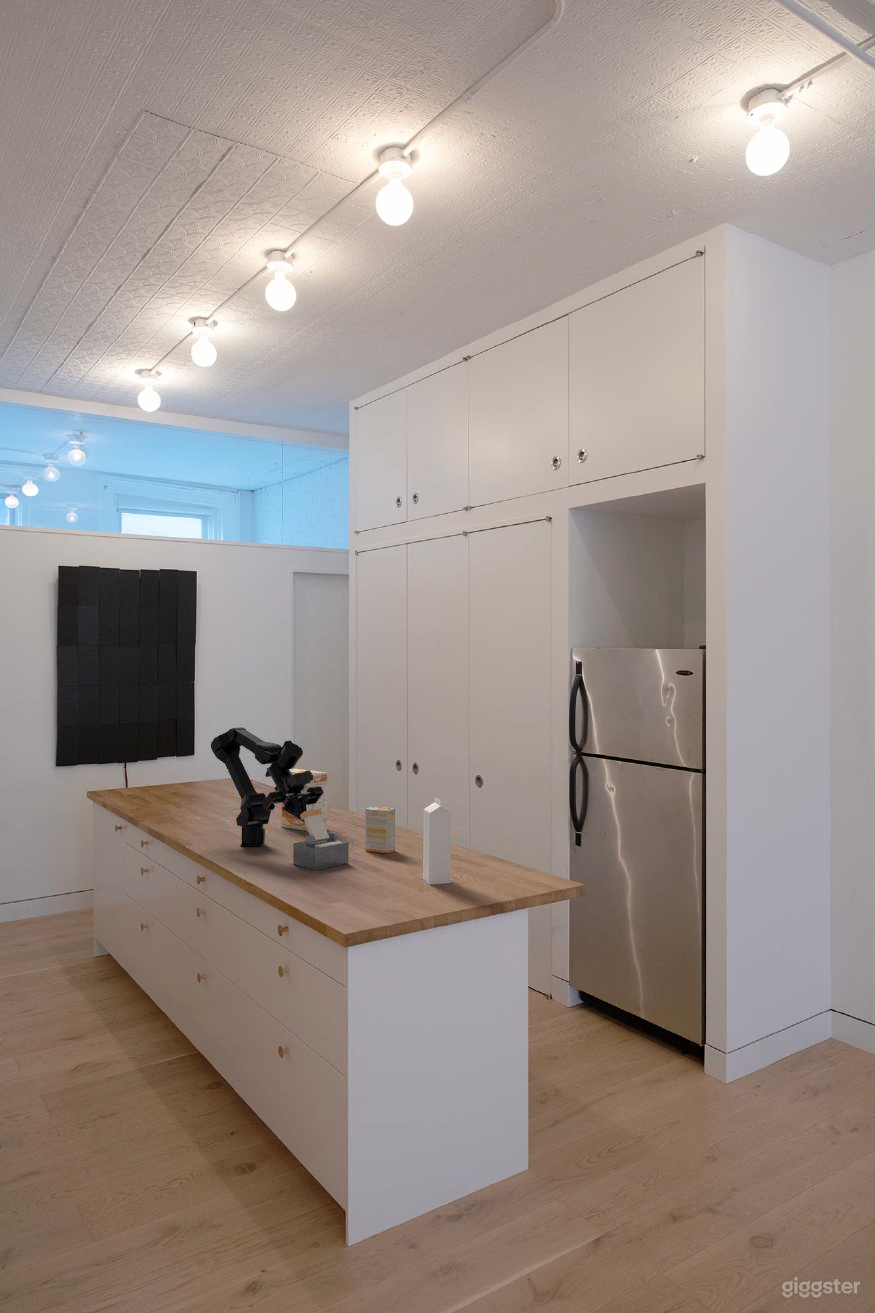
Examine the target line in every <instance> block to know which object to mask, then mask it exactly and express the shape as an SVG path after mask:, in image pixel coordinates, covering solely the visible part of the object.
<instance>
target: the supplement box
mask: <svg viewBox="0 0 875 1313" xmlns="http://www.w3.org/2000/svg"><path fill="white" fill-rule="evenodd" d="M364 810H365V811H364V813H365V817H364V818H365V819H364V820H365V828H364V830H365V833H364V834H365V835H364V837H365V839H364V841H365V846H364V848H365V849H364V851H365V852H371V853H379V854H381V853H382V854H391V853H393V852H395V851H396V808H393V807H385V806H383V807H382V806H370V807H367V808H365V809H364Z"/></svg>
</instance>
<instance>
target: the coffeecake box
mask: <svg viewBox="0 0 875 1313" xmlns="http://www.w3.org/2000/svg"><path fill="white" fill-rule="evenodd" d="M289 770H290V772H291V774H292V775H294V774H296V773H303V772H305V771H307V770H308V769H301V768H292V769H289ZM310 771H311V773H312V775H313V780H312V781H310V783H307V784H306V785H304V787H305V788H304V789H303V790H301V793H303V792H306V791H307V790H308V788H309V787H315V786H320V787H321V788H322V790H323V791H324V793H323V794H322V796H321V797H320V799H319V800H318V801H317V803H315V804H311V805H306V810H307V811H311V810H317V809H321V811H322V814H321V817H322V820H323V822H324V825H325V827H326V828H327V822H328V821H327V820H328V819H327V817H328V816H327V815H328V814H327V812H328V810H327V809H328V807H327V805H328V804H327V803H328V796H327V795H328V772H327V771H325V772H323V771H317V770H310ZM283 807H284V805H283V803H281V826H280V827H282V828H287V829H293V830H300V831H304V830H305V831H304V832H308V829H307V826H306V824H305V822H303V821H301V820H300V819H298V818H297V817H295V816H294V815H292V814H290V813H288V812H287V811H283V810H282V808H283Z"/></svg>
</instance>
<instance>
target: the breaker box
mask: <svg viewBox="0 0 875 1313" xmlns="http://www.w3.org/2000/svg"><path fill="white" fill-rule="evenodd" d="M327 832H328V835H329V838H328V839H327V840H324V841H319V842H315V837H313V836H310V834H309V835H306V836H305V840H303V841H299V842H293V847H292V849H293V851H292V852H293V854H292V855H293V856H292V860H293V861H292V864H293V865H294V864H296V865H295V866H297V865H298V866H299V867H301V866H302V868H304V867H305V868H306V869H308V868H309V869H308V870H311V869H312V871H314V870H316V871H320V870H324V868H325V869H330V868H334V867H333V866H335V867H338V866H344V865H348V864H349V848H350V847H349V846H350V845H349V844H350V842H348V841H344V840H340V839H337V833H336V832H333V831H327ZM343 864H344V865H343ZM298 866H297V867H298ZM305 868H304V869H305Z"/></svg>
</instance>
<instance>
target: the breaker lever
mask: <svg viewBox="0 0 875 1313" xmlns="http://www.w3.org/2000/svg"><path fill="white" fill-rule="evenodd" d="M321 814H322V811H321V809H317V810H311V811H304V812H303V813H302V814H301V815H300V817H301V820H303V819H304V821H305V824H306V826H307V829H308V831H307V832H308V834H309V836H313V837H315V842H319V841H324V840H327V839H328V838H329V835H328V832H329V831H327V826H326V827H325V825H324V822H323V820H322V817H321Z"/></svg>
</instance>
